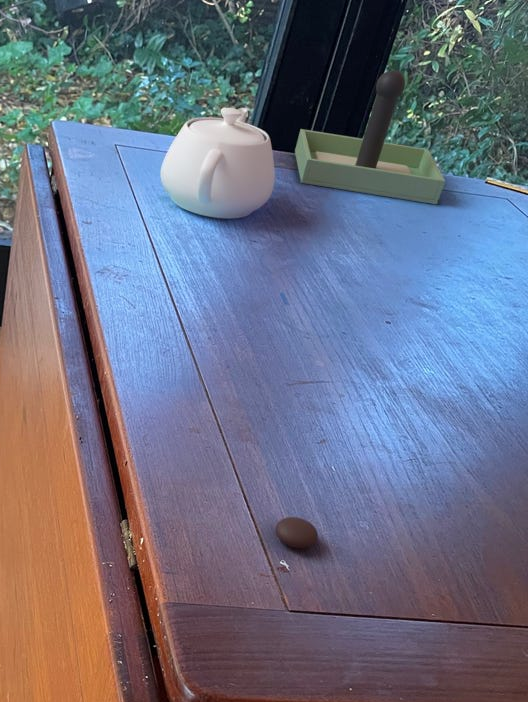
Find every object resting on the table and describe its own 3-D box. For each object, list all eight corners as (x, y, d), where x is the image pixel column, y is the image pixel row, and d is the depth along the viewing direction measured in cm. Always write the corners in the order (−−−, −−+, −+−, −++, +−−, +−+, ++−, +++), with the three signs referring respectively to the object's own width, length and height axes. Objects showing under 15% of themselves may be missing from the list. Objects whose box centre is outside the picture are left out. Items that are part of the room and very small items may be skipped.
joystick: (405, 169, 140) (439, 70, 132) (415, 190, 134) (451, 87, 125) (314, 155, 141) (342, 54, 132) (319, 175, 134) (349, 70, 125)
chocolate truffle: (266, 543, 70) (272, 525, 69) (281, 523, 72) (287, 506, 71) (305, 559, 69) (312, 541, 68) (320, 539, 71) (326, 522, 70)
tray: (420, 171, 142) (428, 149, 140) (436, 204, 132) (445, 181, 130) (294, 151, 143) (300, 128, 141) (301, 183, 132) (307, 159, 130)
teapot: (252, 245, 113) (277, 144, 106) (136, 218, 115) (153, 118, 108) (279, 189, 129) (303, 98, 122) (178, 167, 131) (195, 76, 124)
